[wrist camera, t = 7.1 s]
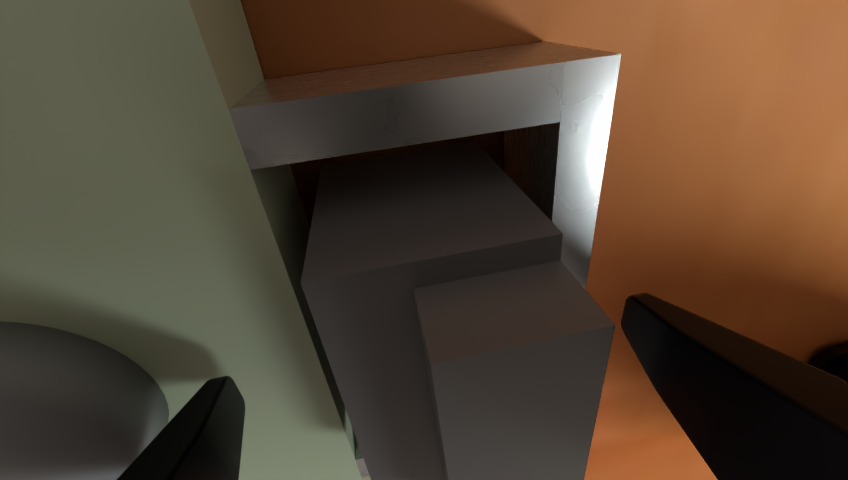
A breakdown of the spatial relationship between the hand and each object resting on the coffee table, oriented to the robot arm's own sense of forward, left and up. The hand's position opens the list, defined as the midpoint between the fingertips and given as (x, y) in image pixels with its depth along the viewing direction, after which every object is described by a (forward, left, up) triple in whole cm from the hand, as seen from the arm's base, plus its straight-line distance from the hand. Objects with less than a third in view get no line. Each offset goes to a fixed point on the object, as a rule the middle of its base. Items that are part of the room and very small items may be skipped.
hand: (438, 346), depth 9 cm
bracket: (0, 0, -4) cm, 4 cm away
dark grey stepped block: (0, 0, -4) cm, 4 cm away
